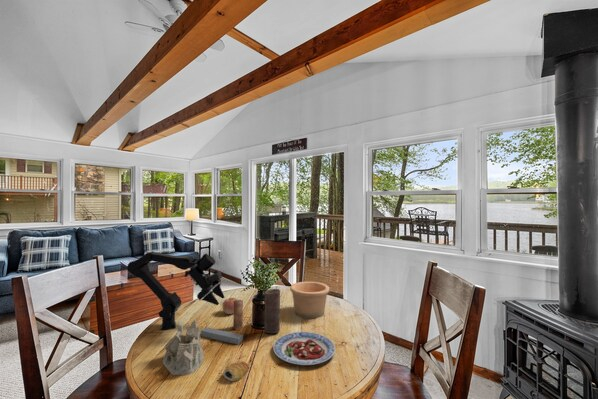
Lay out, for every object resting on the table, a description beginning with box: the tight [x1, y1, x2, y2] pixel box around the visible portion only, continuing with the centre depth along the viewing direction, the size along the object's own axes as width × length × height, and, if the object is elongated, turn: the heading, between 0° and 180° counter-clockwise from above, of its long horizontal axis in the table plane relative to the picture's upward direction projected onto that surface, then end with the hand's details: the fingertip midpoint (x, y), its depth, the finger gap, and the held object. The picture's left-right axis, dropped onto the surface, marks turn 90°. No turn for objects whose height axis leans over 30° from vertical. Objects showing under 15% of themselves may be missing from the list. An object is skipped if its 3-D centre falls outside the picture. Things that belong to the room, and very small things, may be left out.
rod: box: [232, 299, 244, 331], centre depth 136 cm, size 4×4×13 cm
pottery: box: [289, 281, 330, 320], centre depth 156 cm, size 22×22×14 cm
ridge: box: [200, 327, 244, 345], centre depth 125 cm, size 20×4×2 cm, turn 69°
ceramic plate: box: [272, 331, 336, 366], centre depth 116 cm, size 26×26×3 cm
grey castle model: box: [162, 319, 205, 376], centre depth 106 cm, size 16×16×15 cm
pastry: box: [222, 361, 250, 382], centre depth 100 cm, size 9×7×4 cm
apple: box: [221, 297, 238, 315], centre depth 154 cm, size 9×9×8 cm
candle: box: [263, 288, 281, 334], centre depth 132 cm, size 8×7×20 cm
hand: (221, 301), depth 135 cm, fingers open, 9 cm apart
